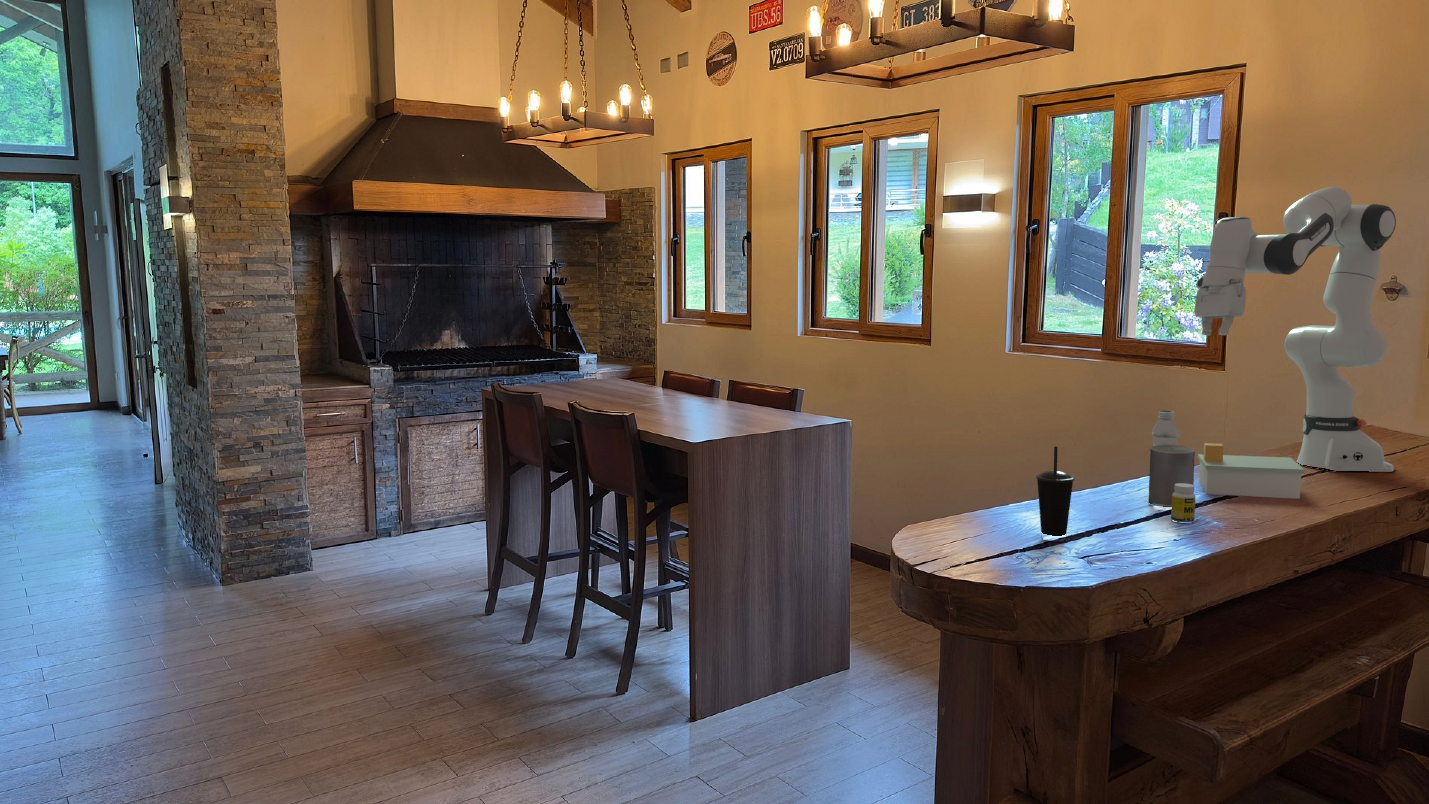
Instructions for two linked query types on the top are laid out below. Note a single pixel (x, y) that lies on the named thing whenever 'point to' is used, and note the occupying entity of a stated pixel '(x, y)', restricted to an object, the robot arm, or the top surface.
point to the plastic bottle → (1165, 429)
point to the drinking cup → (1054, 499)
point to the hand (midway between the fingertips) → (1214, 335)
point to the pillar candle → (1169, 471)
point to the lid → (1245, 462)
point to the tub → (1250, 483)
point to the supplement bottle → (1183, 503)
